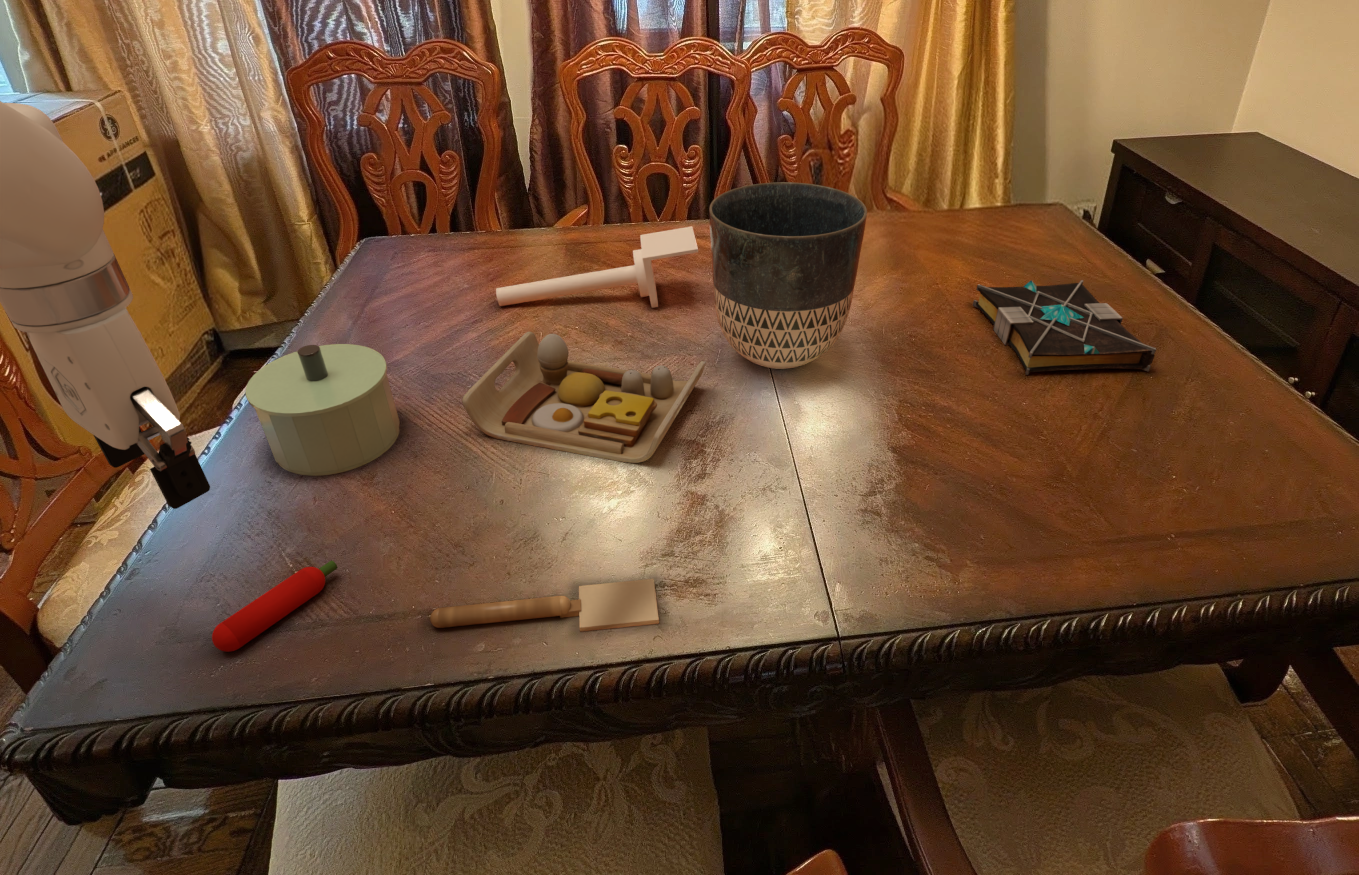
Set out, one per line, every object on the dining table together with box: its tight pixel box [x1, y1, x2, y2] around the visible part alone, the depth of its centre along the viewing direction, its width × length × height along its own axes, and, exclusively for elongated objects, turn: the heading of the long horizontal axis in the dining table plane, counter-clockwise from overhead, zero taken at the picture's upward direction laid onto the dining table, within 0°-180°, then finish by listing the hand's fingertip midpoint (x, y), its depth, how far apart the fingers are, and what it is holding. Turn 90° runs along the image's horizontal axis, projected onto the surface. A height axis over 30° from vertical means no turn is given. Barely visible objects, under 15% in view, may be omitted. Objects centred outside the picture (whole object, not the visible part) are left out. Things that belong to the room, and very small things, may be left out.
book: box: [972, 279, 1157, 376], centre depth 114 cm, size 22×17×5 cm
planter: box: [708, 181, 868, 370], centre depth 106 cm, size 20×20×21 cm
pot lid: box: [245, 343, 388, 417], centre depth 92 cm, size 15×15×5 cm
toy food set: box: [461, 331, 707, 464], centre depth 100 cm, size 25×18×8 cm
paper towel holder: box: [495, 225, 699, 309], centre depth 126 cm, size 9×9×32 cm
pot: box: [254, 373, 401, 477], centre depth 96 cm, size 15×15×8 cm
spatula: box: [429, 578, 660, 633], centre depth 74 cm, size 21×5×2 cm, turn 97°
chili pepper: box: [211, 560, 338, 653], centre depth 74 cm, size 12×3×3 cm, turn 145°
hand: (160, 478), depth 67 cm, fingers open, 9 cm apart
